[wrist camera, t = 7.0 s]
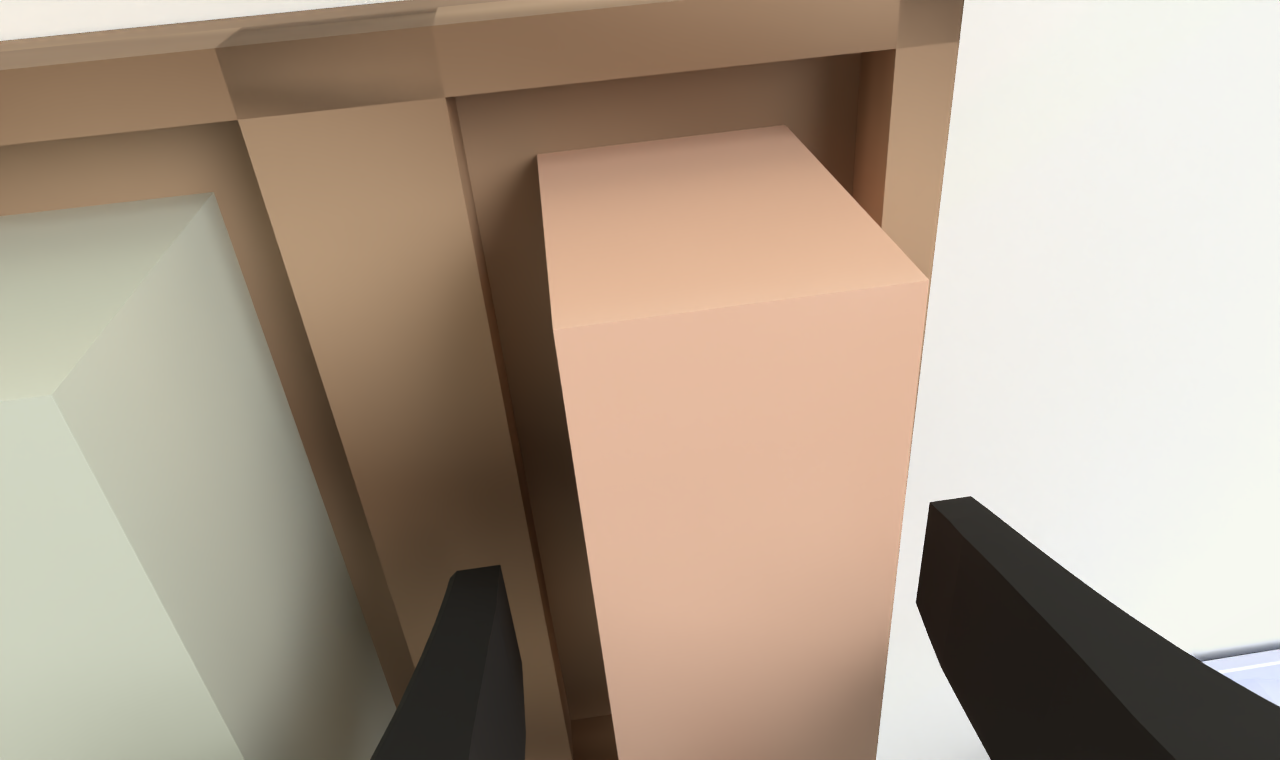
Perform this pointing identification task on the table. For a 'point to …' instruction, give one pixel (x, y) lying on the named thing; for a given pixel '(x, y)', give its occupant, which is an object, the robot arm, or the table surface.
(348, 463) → the rack
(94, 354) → the grey-green block
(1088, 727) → the robot arm
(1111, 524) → the table surface
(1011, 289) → the table surface
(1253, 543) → the table surface
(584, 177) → the peach rectangular block
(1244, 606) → the table surface
